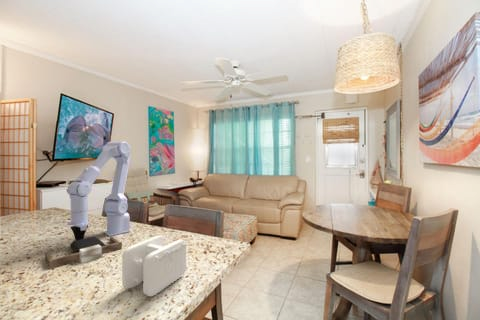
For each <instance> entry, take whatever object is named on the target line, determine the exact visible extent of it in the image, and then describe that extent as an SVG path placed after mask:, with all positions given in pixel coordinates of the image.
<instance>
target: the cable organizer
mask: <svg viewBox="0 0 480 320" xmlns="http://www.w3.org/2000/svg"><path fill="white" fill-rule="evenodd" d="M165 240H166V239H165V237H164V236H162V235H156V236H153V237H151V238H148V239H146V240H143V241H141V242H138V243H136V244H134V245H130V246H129V247H127V248H126V249H124V251H123V253H122V256H121V261H122V266H121V267H122V269H121V273H122V275H121V277H122V278H121V281H122V282H121V283H122V286H123V287H124V288H127V289H134V288H135V287H138V286H140V284H141V283H142V282H143V283H142V287H143V289H142V290H143V291H142V293H143V294H144V295H145V296H148V297H154V295H155V296H157V295H158V294H159V293H161V292H162V291H163V290H164V289H166V288H167V287H168V286H169V285H171V283H172V284H174V281H175V282H176V281H178V280H179V279H180V278H181V277H182V276H183V275H184V274H185V273H186V271H187V242H186V240H182V239H178V240H175V241H173V242H170V243H168V244H165V243H166V242H165ZM177 279H178V280H177ZM157 293H158V294H157Z"/></svg>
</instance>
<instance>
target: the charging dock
mask: <svg viewBox="0 0 480 320" xmlns="http://www.w3.org/2000/svg"><path fill="white" fill-rule="evenodd" d="M109 243H110V244H107V245H106V244H105V245H106V246H102V247H101V246H100V245H95V246H91V247H87V248H83V249H80V252H79V253H75V254H72V253H71V254H68V255H64V256H60V257H56V258H53V257H52V255H51V253H50V251H46V252H44V256H45V257H44V258H45V261H46V263H47V265H48V268H49V269H50V270H51V269H54V268H58V267H61V266H65V265H69V264H72V263H76V262H80V263H81V264H86V263H88V262H91V261H94V260H98V259H101V258H102V255H105V254H107V253H111V252H115V251H119V250H122V249H123V243H122V241H119V240H117V239H116V238H115V237H114V236H109Z"/></svg>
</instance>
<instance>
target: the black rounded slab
mask: <svg viewBox="0 0 480 320" xmlns="http://www.w3.org/2000/svg"><path fill="white" fill-rule="evenodd" d="M95 245H100V246H101V247H102V246H106V244H105V243H104V242H103V241H102V240H100V239H99V238H98V237H97V236H90V237H84V239H79V240H73V241H72V242H71V243H70V245H69V247H70V248H71V254H75V253H79V252H80V249H83V248H87V247H91V246H95Z"/></svg>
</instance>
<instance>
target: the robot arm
mask: <svg viewBox="0 0 480 320" xmlns="http://www.w3.org/2000/svg"><path fill="white" fill-rule="evenodd" d="M131 148H132V147H131V146H130V145H129V143H128V142H127V141H125V140H124V141H107V142H106V143H105V144H104V146H103V147H102V151H101V152H100V153H99V155H98V156H97V158H96V159H95V160H94V162H93V163H92V165H91V166H86V167H84V168H83V170H82V172H81V174H80V175H79V176H78V177H77V178H76V179H75V180H74V181H72V182H70V183H69V185H68V186H67V188H66V193H67V194H68V195H69V199H70V222H66V224H67V226H70V229H71V231H72V233H73V237H74V239H75V240H79V239H84V238H85V234H86V232H87V230H88V229H89V225H88V224H89V222H90V221H89V210H88V209H89V198H88V197H89V194H90V193H91V192H92V187H93V184H94V183H95V181H96V180H97V179H98V178H99V176H100V175H101V171H100V170H101V169H102V168H103V167H104V166H105V165H106V164H107V163H108V162H109V160H110V159H111V158H112V159H113V160H115V161H116V166H115V172H114V177H113V181H112V187H111V193H110V194H109V195H108V196H106V199H105V201H104V202H103V205H102V210H103V212H105V215H106V230H104V231H103V233H104V234H105V235H106V236H109V237H113V236H115V235H117V236H118V235H121V234H125V233H129V232H131V225H130V223H131V221H130V220H131V217H130V214H129V213H128V212H127V210H128V207H129V205H128V198H127V196H126V195H125V190H126V184H127V179H128V173H129V167H130V161H131V156H130V154H131ZM75 240H74V241H75Z"/></svg>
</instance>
